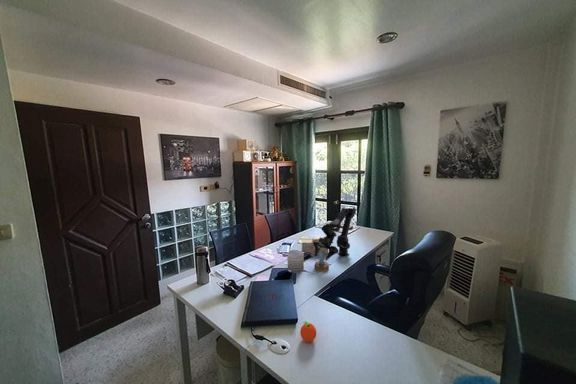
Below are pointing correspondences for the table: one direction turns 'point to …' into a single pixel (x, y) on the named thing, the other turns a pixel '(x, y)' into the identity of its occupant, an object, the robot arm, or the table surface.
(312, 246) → the stack of blocks
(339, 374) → the table surface
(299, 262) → the can
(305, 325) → the clementine
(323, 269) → the brown ring
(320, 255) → the peg
